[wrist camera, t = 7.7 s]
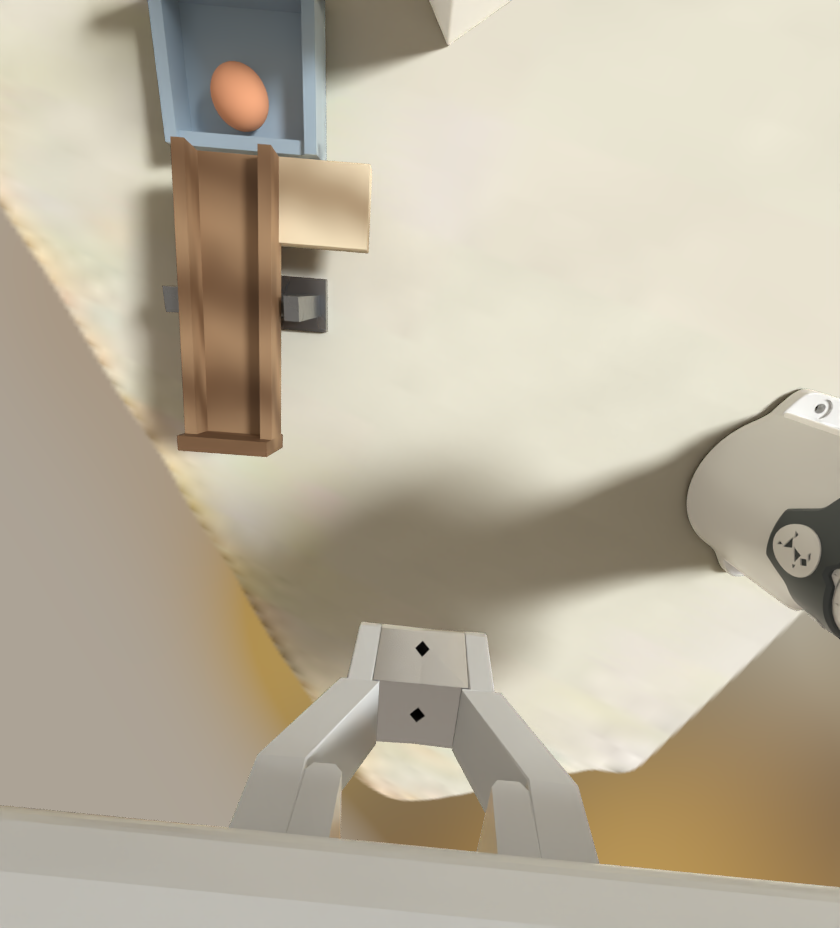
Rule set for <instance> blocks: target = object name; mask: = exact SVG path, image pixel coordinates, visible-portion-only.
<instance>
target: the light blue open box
mask: <svg viewBox="0 0 840 928" xmlns="http://www.w3.org/2000/svg"><path fill="white" fill-rule="evenodd" d="M148 7H149V15H150V23H151V31H152V39H153V47H154V55H155V63H156V71H157V79H158V87H159V95H160V103H161V111H162V119H163V127H164V135H165V142H166V143H168V144H170V145H171V141H170V136H173V137H184V138H185V139H186V140H187V141H188V142H189V143H190V144H191V145H192V146H193V147H194V148H195V149H196V150H199V151H211V152H223V153H235V154H247V155H257V144H267V145H271V146H272V147H273V149H274V150H275V152H276V153H277V155H278V156H279V157H291V158H302V159H314V160H326V37H325V0H148ZM227 61H237V62H241V63H243V64H245V65H247V66H249V67H250V68H251V69H252V70H254V71H255V73H256V74H257V75H258V76H259V77H260V79H261V80H262V82H263V84H264V86H265V88H266V91H267V95H268V100H269V111H268V115H267V118H266V120H265V122H264V124H263V125H262V126H261V127H260V128H259V129H257V130H255V131H251V132H242V131H239V130H236V129H234V128H232V127H231V126H229V125H228V124H227V123H226V122H225V121H224V120H223V119H222V118H221V117H220V115H219V114H218V112H217V111H216V109H215V107H214V104H213V102H212V98H211V92H210V83H211V78H212V75H213V73H214V71H215V69H216V68H217V67H218V66H219V65H220V64H222V63H224V62H227Z"/></svg>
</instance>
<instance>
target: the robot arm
mask: <svg viewBox="0 0 840 928" xmlns="http://www.w3.org/2000/svg"><path fill="white" fill-rule="evenodd" d="M817 405H818V407H817V409H816V410H815V407H816V406H817ZM687 513H688V518H689V521H690V523H691V526H692V528H693V529H694V531H695V532H696V534H697V535H698V536H699V537H700V538H701V539H702V540H703V541H704V542H706V543H707V544H708V545H709V546H711V547H712V548H713V550H714V551H715V553H716V556H717V559H718V562H719V564H720V566H721V567H722V569H724V570H725V571H726V572H728V573H729V574H730V575H732V576H746V577H748V578H749V579H750V580H752V581H753V582H754V583H756V584H757V585H758V586H760V587H761V588H762V589H764V590H765V591H766V592H768V593H769V594H770V595H772V596H773V597H774V598H776V599H777V600H778V601H780V602H781V603H782V604H784V605H785V606H787V607H788V608H790V609H792V610H796V611H799V610H805V611H806V612H807V613H808V615H809V616H810V617H811V618H812V619H813V620H814V621H815V622H816V623H818V624H819V625H820V626H822V627H823V628H824V629H826V630H828V631H829V632H831V633H833V634H834V635H835V636H836V637H838V638H839V639H840V398H838V397H835V396H831V395H828V394H825V393H821V392H818V391H815V390H811V389H801V390H798V391H796V392H795V393H793V394H792V395H790V396H789V397H788V398H786V399H785V400H784V401H783V402H782V403H781V404H779V405H778V406H777V407H776V408H775V409H774V410H773V411H772V412H771V413H769V414H767V415H766V416H764V417H762V418H760V419H758V420H756V421H753V422H751V423H749V424H747V425H745V426H743V427H741V428H739V429H738V430H736V431H734V432H733V433H731V434H730V435H728V436H727V437H726V438H724V439H723V440H722V441H721V442H719V443H718V444H717V445H716V446H715V447H714V448H713V449H712V450H711V451H710V452H709V453H708V454H707V456H706V457H705V458H704V459H703V461H702V462H701V463H700V465H699V467H698V468H697V470H696V472H695V474H694V476H693V478H692V480H691V483H690V486H689V490H688V495H687ZM376 741H382V742H398V743H413V744H421V745H429V746H437V747H445V748H452V751H453V753H454V755H455V757H456V759H457V761H458V763H459V764H460V766H461V768H462V770H463V772H464V774H465V776H466V778H467V780H468V781H469V783H470V785H471V787H472V789H473V791H474V793H475V795H476V796H477V798H478V800H479V802H480V804H481V806H482V808H483V810H484V812H485V813H486V814H485V819H484V823H483V827H482V831H481V835H480V840H479V844H478V849H477V852H473V851H462V850H451V849H441V848H431V847H422V846H411V845H401V844H391V843H381V842H370V841H359V840H350V839H341V791H342V789H343V788H344V787H345V786H346V784H347V783H348V782H349V780H350V779H351V777H352V776H353V775H354V773H355V772H356V770H357V769H358V768H359V766H360V765H361V764H362V762H363V761H364V759H365V758H366V757H367V755H368V754H369V753H370V751H371V750H372V748H373V747H374V746H375V744H376ZM0 928H840V887H829V886H820V885H810V884H800V883H790V882H779V881H769V880H759V879H749V878H738V877H728V876H718V875H708V874H698V873H688V872H677V871H667V870H657V869H646V868H637V867H626V866H616V865H606V864H599V861H598V857H597V853H596V850H595V846H594V842H593V839H592V835H591V832H590V828H589V824H588V820H587V817H586V813H585V810H584V806H583V802H582V799H581V795H580V791H579V788H578V785H577V784H576V783H575V782H574V781H573V779H572V778H571V777H570V776H569V774H568V773H567V772H566V771H565V770H564V768H563V767H562V766H561V765H560V764H559V762H558V761H557V760H556V759H555V758H554V756H553V755H552V754H551V753H550V751H549V750H548V749H547V748H546V747H545V745H544V744H543V743H542V742H541V741H540V739H539V738H538V737H537V736H536V734H535V733H534V732H533V731H532V730H531V728H530V727H529V726H528V725H527V724H526V722H525V721H524V720H523V719H522V718H521V716H520V715H519V714H518V713H517V711H516V710H515V709H514V708H513V707H512V705H511V704H510V703H509V702H508V701H507V699H506V698H505V697H504V696H503V694H502V693H499V692H494V684H493V677H492V670H491V662H490V655H489V648H488V641H487V636H486V634H485V633H479V632H466V631H464V632H463V631H452V630H440V629H428V628H417V627H408V626H400V625H391V624H383V625H382V624H378V623H370V622H361V624H360V626H359V630H358V634H357V638H356V642H355V647H354V651H353V655H352V659H351V663H350V668H349V672H348V676H347V678H340V679H339V680H337V681H336V682H335V683H334V684H333V685H332V686H331V687H330V688H329V689H328V690H327V691H326V692H324V693H323V694H322V695H321V696H320V697H319V698H318V699H317V700H316V701H315V702H314V703H313V704H311V705H310V706H309V707H308V708H307V709H306V710H305V711H304V712H303V713H302V714H301V715H300V716H299V717H297V718H296V720H294V721H293V722H292V723H291V724H290V725H289V726H288V727H287V728H286V729H284V730H283V731H282V732H281V733H280V734H279V735H278V736H277V737H276V738H275V739H274V740H272V741H271V742H270V743H269V744H268V745H267V746H266V747H265V748H264V749H263V750H262V751H261V752H259V753H258V754H257V757H256V760H255V762H254V765H253V767H252V770H251V772H250V775H249V777H248V780H247V782H246V785H245V787H244V790H243V792H242V795H241V798H240V800H239V802H238V805H237V808H236V810H235V813H234V815H233V818H232V820H231V823H230V825H229V828H227V827H217V826H207V825H196V824H187V823H177V822H166V821H156V820H145V819H136V818H126V817H116V816H106V815H94V814H85V813H75V812H65V811H55V810H45V809H35V808H25V807H14V806H4V805H0Z"/></svg>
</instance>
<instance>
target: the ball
mask: <svg viewBox="0 0 840 928" xmlns="http://www.w3.org/2000/svg"><path fill="white" fill-rule="evenodd" d="M210 92H211V98H212V102H213V104H214V107H215V109H216V111H217V112H218V114H219V115H220V117H221V118H222V119H223V120H224V121H225V122H226V123H227V124H228V125H229V126H231V127H232V128H234V129H236V130H239V131H242V132H251V131H255V130H257V129H259V128H260V127H261V126H262V125H263V124H264V122H265V120H266V118H267V115H268V111H269V100H268V95H267V91H266V88H265V86H264V84H263V82H262V80H261V79H260V77H259V76H258V75H257V74H256V73H255V71H254V70H252V69H251V68H250V67H249V66H247V65H245V64H243V63H241V62H237V61H227V62H224V63H222V64H220V65H219V66H218V67H217V68H216V69H215V71H214V73H213V75H212V78H211V83H210Z"/></svg>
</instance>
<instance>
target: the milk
mask: <svg viewBox="0 0 840 928" xmlns="http://www.w3.org/2000/svg"><path fill="white" fill-rule="evenodd" d="M510 1H511V0H429V2H430V4H431V6H432V9H433V11H434V14H435V16H436V19H437V21H438V23H439V26H440V28H441V31H442V33H443V36H444V38H445V40H446V43H447V45H450V44H452V43H453V42H454V41H456V40H457V39H458V38H460V37H461V36H463V35H464V34H465V33H467V32H468V31H470V30H471V29H472V28H474V27H475V26H477V25H478V24H479V23H481V22H482V21H484V20H485V19H486V18H488V17H489V16H491V15H492V14H493V13H495V12H496V11H497V10H499V9H500V8H502V7H503V6H504V5H506V4H507V3H509V2H510Z"/></svg>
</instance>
